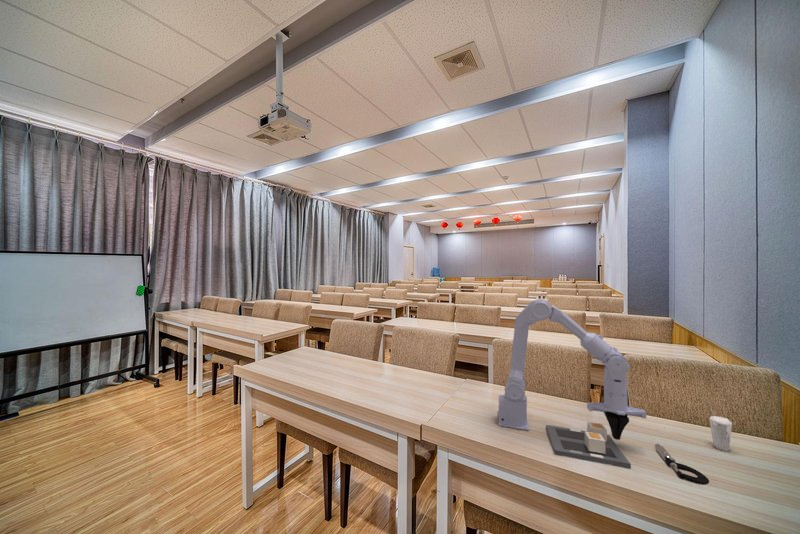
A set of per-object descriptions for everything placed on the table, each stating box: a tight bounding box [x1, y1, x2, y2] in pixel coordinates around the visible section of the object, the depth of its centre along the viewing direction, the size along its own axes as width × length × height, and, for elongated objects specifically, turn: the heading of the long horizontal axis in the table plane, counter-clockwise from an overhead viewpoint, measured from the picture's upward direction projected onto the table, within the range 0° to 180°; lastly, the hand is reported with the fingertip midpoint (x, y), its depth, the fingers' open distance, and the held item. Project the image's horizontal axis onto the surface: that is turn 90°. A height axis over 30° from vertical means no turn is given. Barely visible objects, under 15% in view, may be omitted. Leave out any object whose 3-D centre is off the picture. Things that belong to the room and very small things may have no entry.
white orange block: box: [586, 421, 608, 442], centre depth 88 cm, size 4×4×4 cm
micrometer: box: [654, 443, 710, 485], centre depth 78 cm, size 15×7×2 cm, turn 157°
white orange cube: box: [584, 430, 606, 454], centre depth 82 cm, size 4×4×4 cm
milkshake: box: [709, 409, 733, 452], centre depth 87 cm, size 5×5×10 cm
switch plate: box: [545, 424, 632, 469], centre depth 86 cm, size 18×15×1 cm
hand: (615, 437), depth 86 cm, fingers closed
